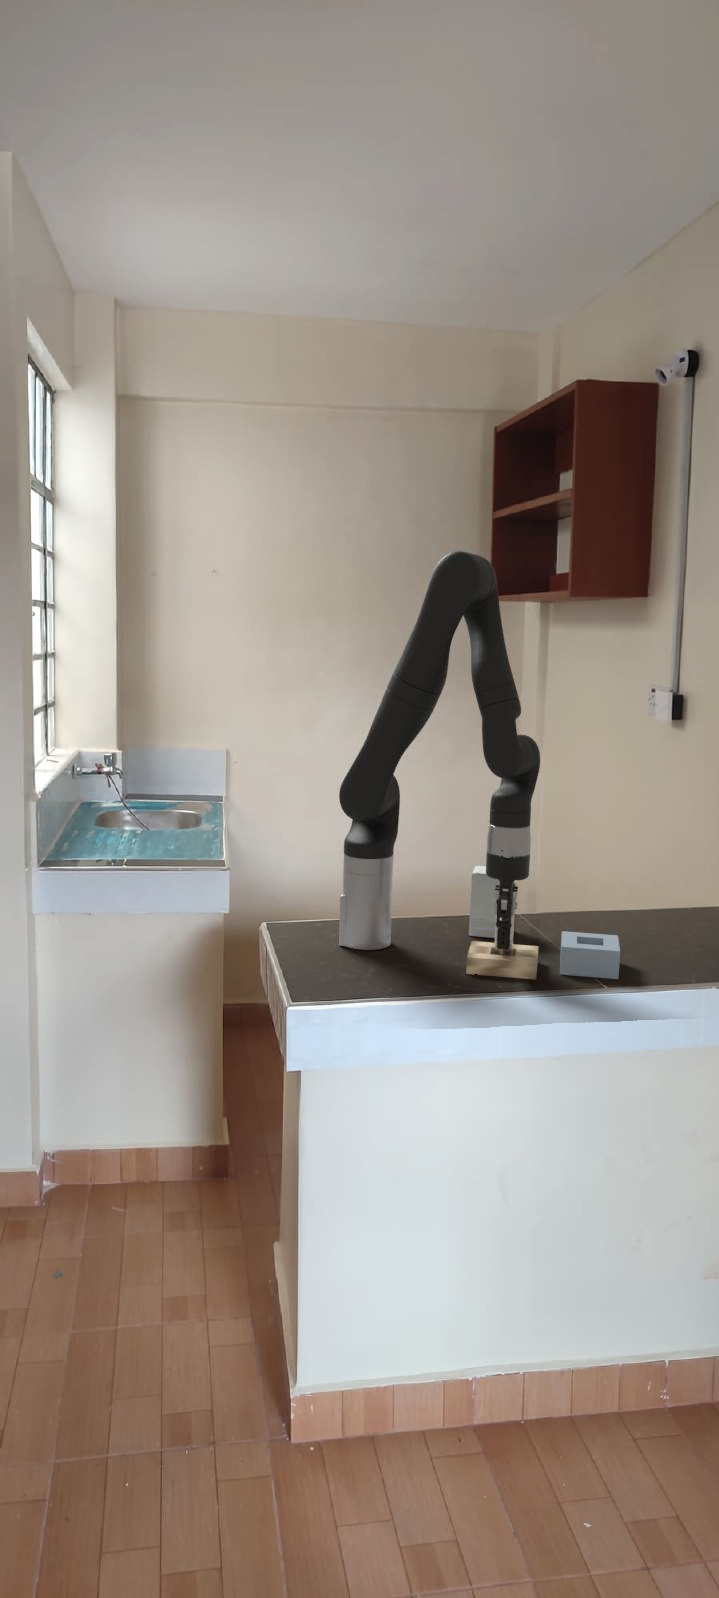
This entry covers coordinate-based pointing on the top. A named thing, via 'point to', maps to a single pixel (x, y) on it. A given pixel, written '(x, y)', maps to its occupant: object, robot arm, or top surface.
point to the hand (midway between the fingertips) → (503, 945)
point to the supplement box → (482, 904)
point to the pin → (510, 950)
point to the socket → (590, 955)
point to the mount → (502, 961)
